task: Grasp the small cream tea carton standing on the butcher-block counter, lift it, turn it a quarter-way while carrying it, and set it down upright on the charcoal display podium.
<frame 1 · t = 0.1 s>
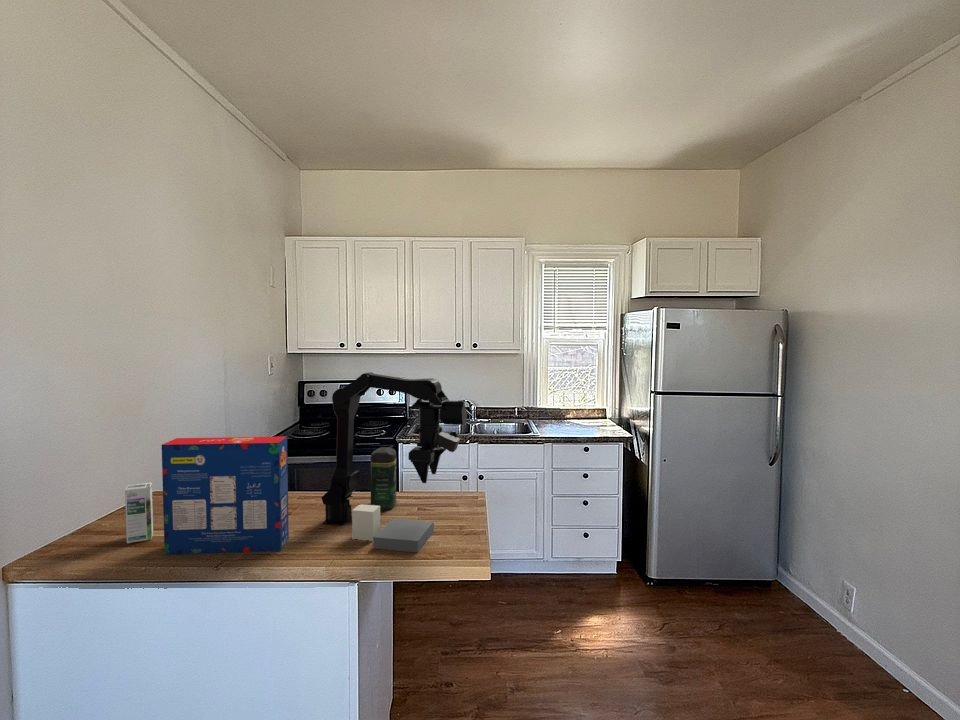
hand: (429, 478, 149), 15 cm above the countertop, fingers open, 9 cm apart
carton: (257, 506, 170), on the countertop
syrup box: (140, 539, 142), on the countertop
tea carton: (366, 536, 144), on the countertop
podium: (404, 539, 142), on the countertop
blue cardboard box: (229, 547, 137), on the countertop
coffee jar: (383, 506, 169), on the countertop
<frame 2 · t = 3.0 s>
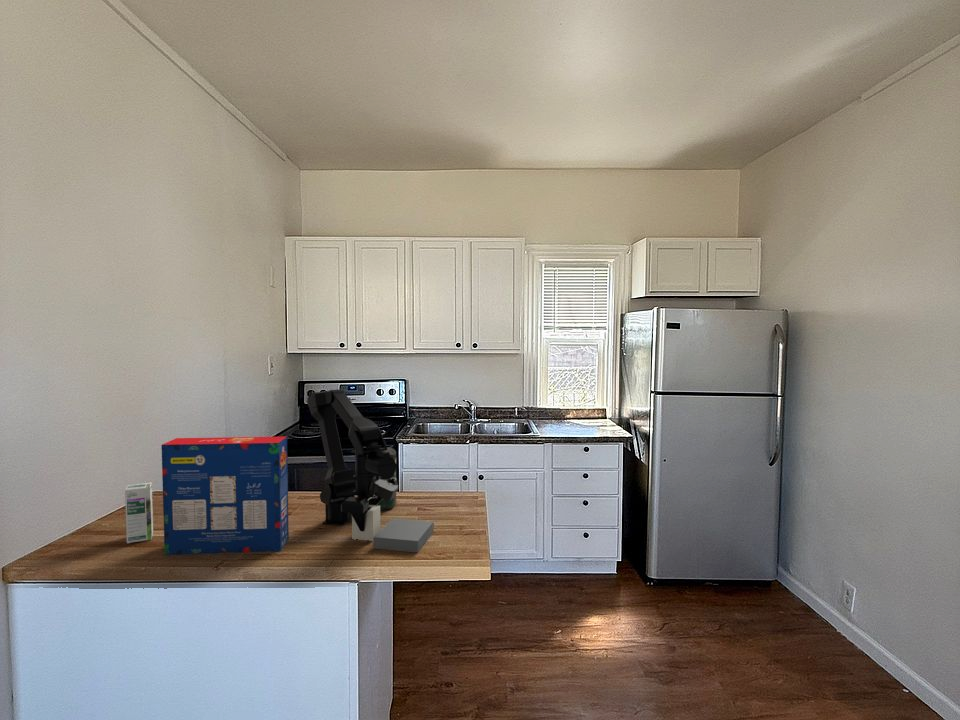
hand: (366, 527, 144), 3 cm above the countertop, fingers closed on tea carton, 5 cm apart
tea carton: (366, 536, 144), on the countertop, touching gripper
when the fingers open (7 cm above the countertop, at t = 7.1 s): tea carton drops 1 cm, resting on podium.
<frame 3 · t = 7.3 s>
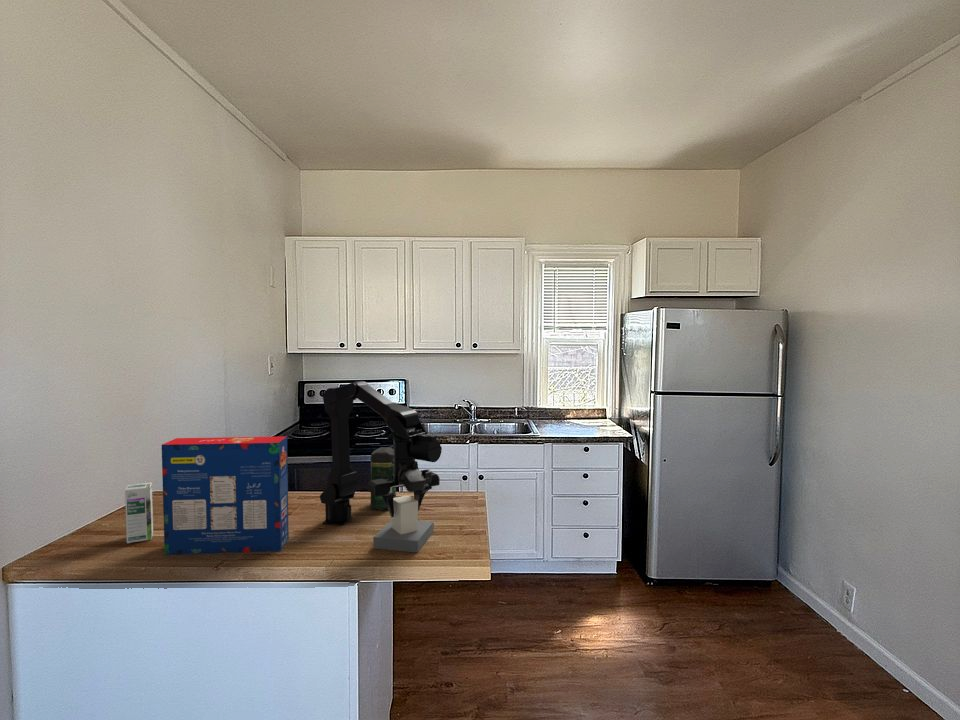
hand: (404, 514, 141), 7 cm above the countertop, fingers open, 7 cm apart
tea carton: (404, 528, 142), point 3 cm above the countertop, touching podium
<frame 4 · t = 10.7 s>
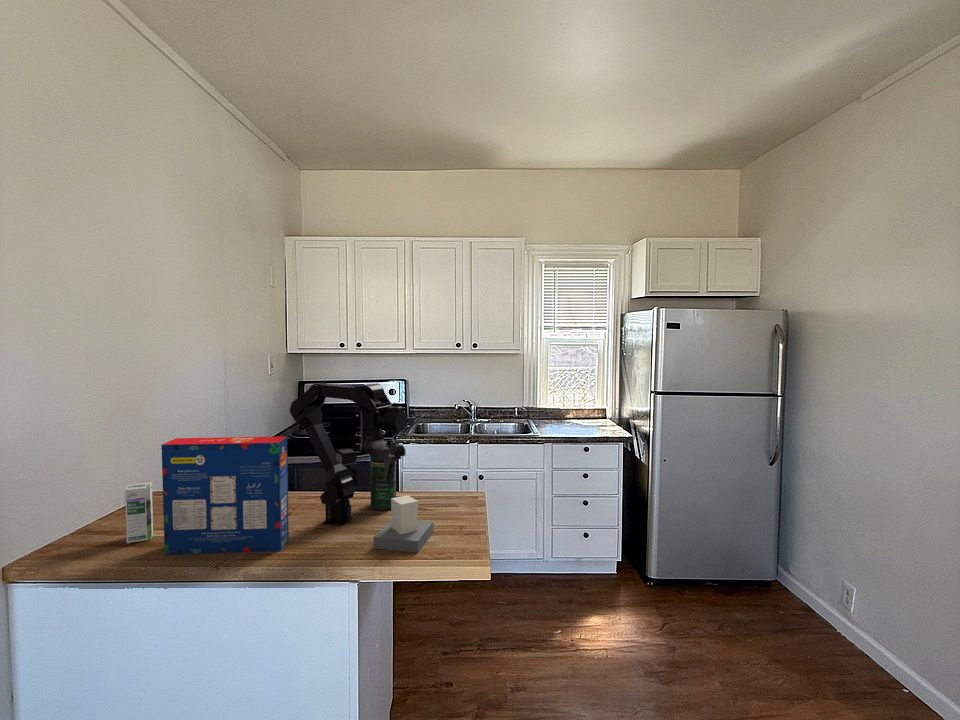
hand: (371, 483, 149), 13 cm above the countertop, fingers open, 9 cm apart
at the end: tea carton inside the target area (0.0 cm from its centre), point 3.0 cm above the countertop; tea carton tilted 0°; the gripper is holding nothing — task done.
